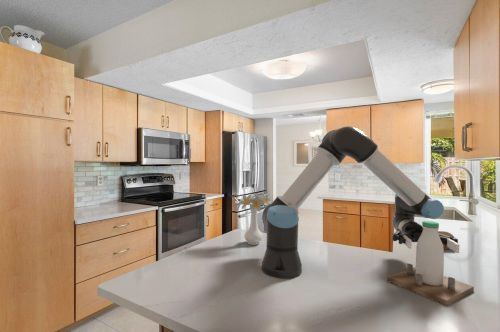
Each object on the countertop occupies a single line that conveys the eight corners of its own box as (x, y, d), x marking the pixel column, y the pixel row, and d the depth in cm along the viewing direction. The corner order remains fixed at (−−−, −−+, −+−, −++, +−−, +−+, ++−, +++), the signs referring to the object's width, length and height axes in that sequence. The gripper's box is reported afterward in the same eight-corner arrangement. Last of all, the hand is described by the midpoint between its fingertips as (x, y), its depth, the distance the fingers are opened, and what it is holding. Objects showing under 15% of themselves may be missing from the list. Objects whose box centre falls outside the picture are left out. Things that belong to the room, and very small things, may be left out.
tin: (419, 246, 132) (419, 229, 132) (417, 244, 135) (418, 228, 135) (455, 250, 127) (456, 233, 127) (453, 248, 130) (453, 231, 130)
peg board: (387, 280, 92) (387, 266, 92) (415, 270, 101) (415, 257, 101) (446, 305, 77) (447, 288, 76) (473, 291, 86) (474, 275, 86)
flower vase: (232, 240, 137) (233, 191, 136) (267, 239, 140) (268, 191, 140) (235, 248, 124) (236, 195, 123) (273, 246, 127) (274, 194, 127)
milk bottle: (444, 288, 84) (445, 225, 83) (415, 282, 88) (416, 222, 87) (442, 279, 90) (443, 221, 90) (415, 274, 94) (416, 218, 94)
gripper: (447, 242, 104) (478, 262, 83) (377, 237, 110) (391, 253, 89) (447, 223, 103) (479, 238, 83) (378, 219, 110) (391, 231, 89)
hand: (433, 246), depth 86 cm, fingers open, 13 cm apart
